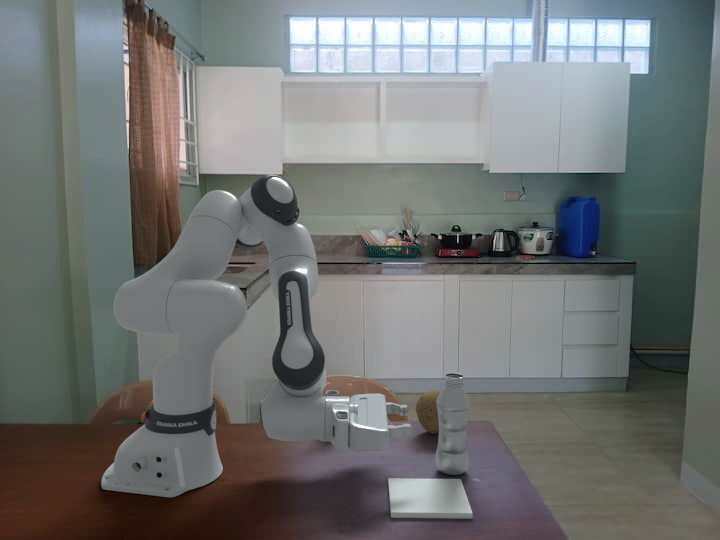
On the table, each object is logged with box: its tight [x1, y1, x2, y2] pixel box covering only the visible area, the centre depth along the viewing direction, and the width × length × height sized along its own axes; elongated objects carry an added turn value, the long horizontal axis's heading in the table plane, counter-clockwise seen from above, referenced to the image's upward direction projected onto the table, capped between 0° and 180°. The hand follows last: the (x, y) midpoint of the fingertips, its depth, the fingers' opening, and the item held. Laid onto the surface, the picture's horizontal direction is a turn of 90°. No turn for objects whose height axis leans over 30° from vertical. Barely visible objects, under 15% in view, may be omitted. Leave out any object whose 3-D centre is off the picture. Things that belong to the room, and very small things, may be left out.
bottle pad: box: [387, 477, 473, 520], centre depth 106 cm, size 14×12×1 cm
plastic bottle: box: [434, 372, 471, 476], centre depth 116 cm, size 6×7×20 cm
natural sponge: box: [415, 390, 441, 435], centre depth 135 cm, size 9×9×10 cm
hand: (410, 419), depth 116 cm, fingers open, 8 cm apart
